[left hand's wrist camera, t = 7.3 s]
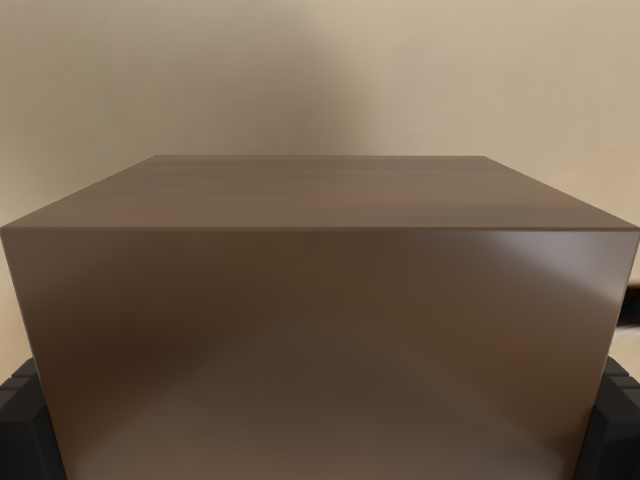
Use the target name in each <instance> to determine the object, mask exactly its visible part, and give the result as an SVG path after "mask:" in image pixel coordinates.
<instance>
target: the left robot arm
mask: <svg viewBox="0 0 640 480" xmlns="http://www.w3.org/2000/svg"><path fill="white" fill-rule="evenodd" d="M0 480H67V479H66V475H65V472H64V468H63V464H62V461H61V457H60V453H59V450H58V446H57V442H56V439H55V435H54V431H53V428H52V424H51V420H50V417H49V413H48V409H47V406H46V402H45V398H44V395H43V391H42V387H41V384H40V380H39V376H38V373H37V369H36V365H35V362H34V358H33V357H32V358H30V359H29V360H27V361H26V362H25V363H24V364H23V365H22V366H21V367H20V368H19V369H18V370H17V371H16V372H14V373H13V374H12V377H11V378H8V379H7V380H6V381H5V382H4V383H3V384H2V385H1V386H0ZM573 480H640V384H639V383H638V382H637V381H636V380H635V379H634V378H633V377H630V376H629V373H628V372H627V371H626V370H625V369H624V368H623V367H621V366H620V365H619V364H618V363H617V362H616V361H615V360H614V359H613V358H611V357H609V356H607V360H606V363H605V367H604V371H603V374H602V378H601V381H600V385H599V389H598V392H597V396H596V399H595V403H594V407H593V410H592V414H591V417H590V421H589V424H588V428H587V432H586V435H585V439H584V442H583V446H582V450H581V453H580V457H579V460H578V464H577V468H576V471H575V475H574V478H573Z"/></svg>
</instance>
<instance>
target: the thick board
mask: <svg viewBox="0 0 640 480" xmlns="http://www.w3.org/2000/svg"><path fill="white" fill-rule="evenodd" d="M0 237H1V241H2V244H3V248H4V252H5V255H6V259H7V263H8V266H9V270H10V274H11V277H12V281H13V285H14V288H15V292H16V296H17V299H18V303H19V307H20V310H21V314H22V318H23V321H24V325H25V329H26V332H27V336H28V340H29V343H30V347H31V351H32V354H33V358H34V362H35V365H36V369H37V373H38V376H39V380H40V384H41V387H42V391H43V395H44V398H45V402H46V406H47V409H48V413H49V417H50V420H51V424H52V428H53V431H54V435H55V439H56V442H57V446H58V450H59V453H60V457H61V461H62V464H63V468H64V472H65V475H66V479H67V480H573V478H574V475H575V471H576V468H577V464H578V460H579V457H580V453H581V450H582V446H583V442H584V439H585V435H586V432H587V428H588V424H589V421H590V417H591V414H592V410H593V407H594V403H595V399H596V396H597V392H598V389H599V385H600V381H601V378H602V374H603V371H604V367H605V363H606V360H607V356H608V353H609V349H610V345H611V342H612V338H613V335H614V331H615V327H616V324H617V320H618V317H619V313H620V310H621V306H622V302H623V299H624V295H625V292H626V288H627V284H628V281H629V277H630V274H631V270H632V266H633V263H634V259H635V256H636V252H637V248H638V245H639V241H640V227H637V226H635V225H633V224H631V223H629V222H627V221H624V220H622V219H620V218H618V217H616V216H613V215H611V214H609V213H607V212H605V211H602V210H600V209H598V208H596V207H594V206H592V205H589V204H587V203H585V202H583V201H581V200H578V199H576V198H574V197H572V196H570V195H568V194H565V193H563V192H561V191H559V190H557V189H554V188H552V187H550V186H548V185H546V184H544V183H541V182H539V181H537V180H535V179H533V178H530V177H528V176H526V175H524V174H522V173H520V172H517V171H515V170H513V169H511V168H509V167H506V166H504V165H502V164H500V163H498V162H496V161H493V160H491V159H489V158H487V157H485V156H154V157H152V158H150V159H147V160H145V161H143V162H141V163H139V164H137V165H134V166H132V167H130V168H128V169H126V170H124V171H121V172H119V173H117V174H115V175H113V176H111V177H108V178H106V179H104V180H102V181H100V182H98V183H95V184H93V185H91V186H89V187H87V188H85V189H82V190H80V191H78V192H76V193H74V194H72V195H69V196H67V197H65V198H63V199H61V200H58V201H56V202H54V203H52V204H50V205H48V206H45V207H43V208H41V209H39V210H37V211H35V212H32V213H30V214H28V215H26V216H24V217H22V218H19V219H17V220H15V221H13V222H11V223H9V224H6V225H4V226H2V227H0Z"/></svg>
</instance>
